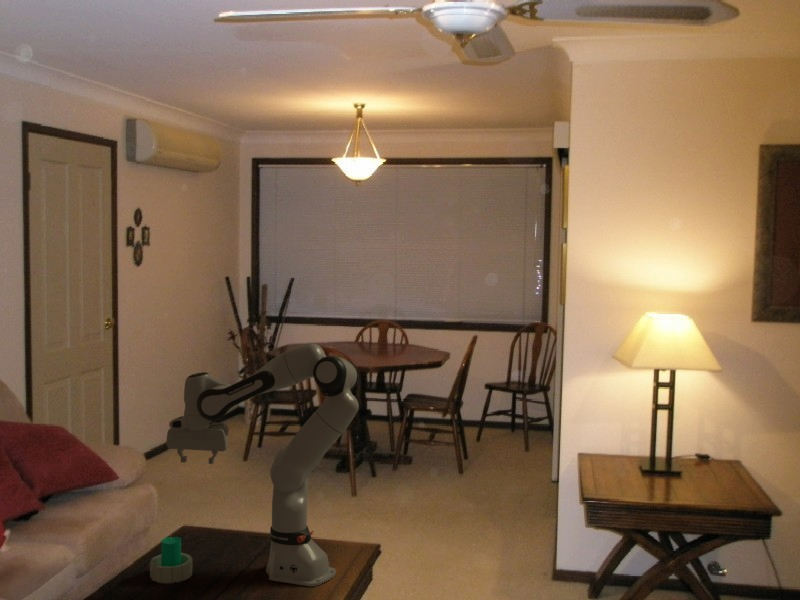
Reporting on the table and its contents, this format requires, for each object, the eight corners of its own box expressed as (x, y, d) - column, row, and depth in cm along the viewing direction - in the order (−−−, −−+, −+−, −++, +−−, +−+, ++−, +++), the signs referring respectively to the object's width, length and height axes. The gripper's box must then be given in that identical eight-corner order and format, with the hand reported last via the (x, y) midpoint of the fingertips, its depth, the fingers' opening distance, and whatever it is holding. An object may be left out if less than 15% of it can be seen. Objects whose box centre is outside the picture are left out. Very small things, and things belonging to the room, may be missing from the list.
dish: (200, 572, 268) (200, 557, 267) (172, 586, 257) (172, 571, 257) (170, 564, 274) (170, 549, 273) (142, 577, 263) (141, 562, 262)
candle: (185, 570, 267) (185, 533, 266) (173, 577, 261) (173, 539, 260) (169, 567, 269) (169, 530, 268) (157, 574, 264) (157, 536, 263)
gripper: (231, 420, 281) (231, 461, 282) (171, 418, 283) (171, 458, 284) (225, 425, 275) (225, 466, 276) (164, 422, 277) (164, 463, 278)
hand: (197, 462), depth 280 cm, fingers open, 8 cm apart
